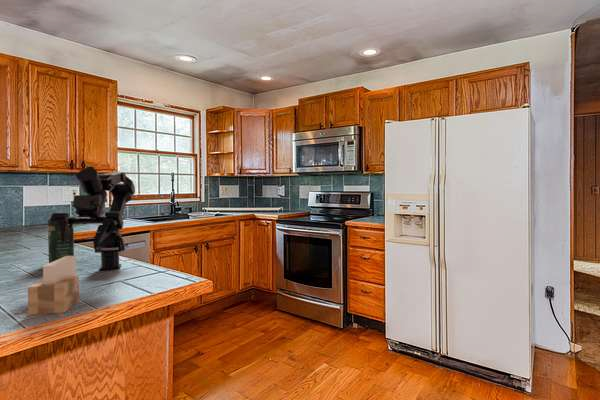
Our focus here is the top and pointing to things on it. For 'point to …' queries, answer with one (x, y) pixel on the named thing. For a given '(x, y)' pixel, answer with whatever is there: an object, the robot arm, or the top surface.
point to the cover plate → (59, 270)
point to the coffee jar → (59, 243)
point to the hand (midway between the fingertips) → (80, 243)
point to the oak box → (53, 296)
